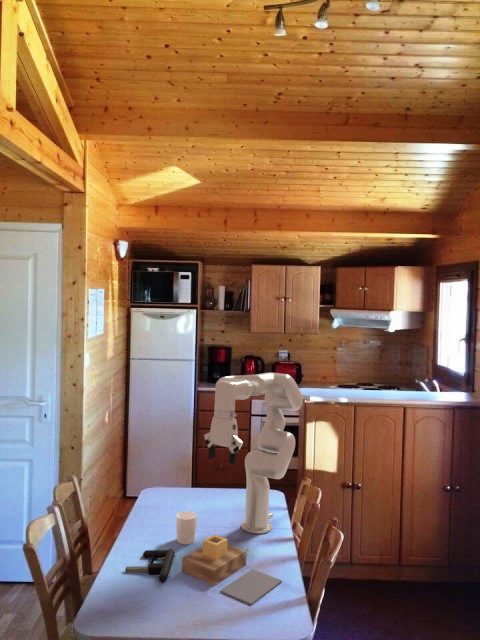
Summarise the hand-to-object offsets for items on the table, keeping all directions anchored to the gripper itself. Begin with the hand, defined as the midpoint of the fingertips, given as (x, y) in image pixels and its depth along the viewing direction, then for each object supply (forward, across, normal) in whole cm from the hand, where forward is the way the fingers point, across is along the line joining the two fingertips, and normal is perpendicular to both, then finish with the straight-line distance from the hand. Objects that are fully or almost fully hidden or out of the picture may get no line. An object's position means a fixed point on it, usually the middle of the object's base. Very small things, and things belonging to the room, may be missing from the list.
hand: (221, 460), depth 198 cm
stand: (+34, -6, +9) cm, 36 cm away
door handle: (+35, +10, +23) cm, 43 cm away
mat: (+34, -24, +11) cm, 43 cm away
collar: (+29, -7, +10) cm, 32 cm away
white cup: (+34, +16, 0) cm, 38 cm away
